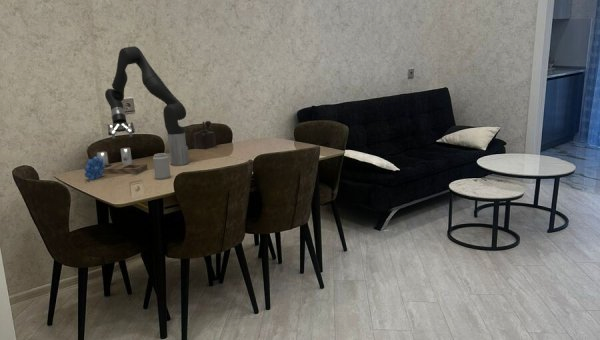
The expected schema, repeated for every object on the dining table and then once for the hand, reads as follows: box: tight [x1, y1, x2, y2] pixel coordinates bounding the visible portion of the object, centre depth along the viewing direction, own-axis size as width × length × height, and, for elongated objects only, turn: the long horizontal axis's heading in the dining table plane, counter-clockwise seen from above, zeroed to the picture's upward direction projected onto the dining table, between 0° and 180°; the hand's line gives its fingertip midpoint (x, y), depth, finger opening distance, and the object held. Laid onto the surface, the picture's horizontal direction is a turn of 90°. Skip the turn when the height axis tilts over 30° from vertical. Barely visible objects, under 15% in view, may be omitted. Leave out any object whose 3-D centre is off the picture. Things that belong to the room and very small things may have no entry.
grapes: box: [84, 155, 105, 181], centre depth 255 cm, size 12×7×12 cm, turn 146°
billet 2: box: [120, 147, 133, 164], centre depth 281 cm, size 5×5×10 cm
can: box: [152, 152, 171, 180], centre depth 254 cm, size 8×8×12 cm
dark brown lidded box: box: [192, 120, 217, 150], centre depth 327 cm, size 16×11×18 cm
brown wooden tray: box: [102, 163, 149, 176], centre depth 269 cm, size 28×11×4 cm, turn 78°
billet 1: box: [96, 151, 110, 168], centre depth 270 cm, size 5×5×10 cm
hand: (122, 139), depth 289 cm, fingers open, 8 cm apart
